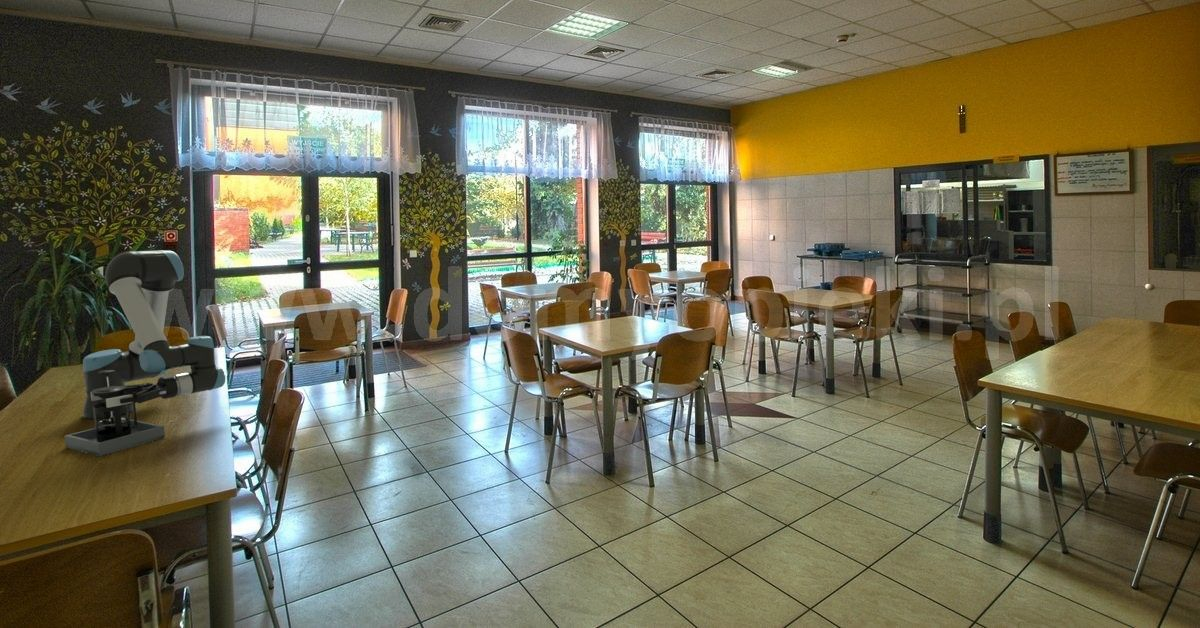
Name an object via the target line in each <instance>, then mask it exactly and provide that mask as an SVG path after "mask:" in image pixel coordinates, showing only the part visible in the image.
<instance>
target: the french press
mask: <svg viewBox="0 0 1200 628" xmlns="http://www.w3.org/2000/svg"><path fill="white" fill-rule="evenodd" d="M111 372H115V370H104V371H100V372H98V373H100V374H104V373H105V377H107V384H108V387H104V388H99V389H95V390H93V391H91V393H92V394H93V395H94V396H99V397H100V398H102V399H108V398H113V397H119V396H123V395H125V389H126V387H125V386H126V385H125V386H111V387H109V381H108V377H109V373H111ZM100 407H102V408H100ZM124 408H126V414H125V415H126V417H125V416H122V415H121V413H120V409H124ZM132 409H133V411H132V416H133V417H132V418H133V420H134V425H132V426H130V419H131V418H130V412H129V408H128V404H124V405H120V406H115V407H109V408H107V405H106V402H103V403H99V404H96V405H94V406H93V412H94V419H93V420H94V428H96V437H97V441H96V442H104V441H108V440H111V439H115V438H119V437H122V436H126V435H130V434H132V433H131V428H133V427H137V421H138V419H137V417H138V416H137V409H136V403H133V402H132ZM110 411H111V417H110V413H109V412H110ZM112 411H114V417H113V415H112ZM96 412H103V418H102V420H99V421H98V419H97V414H96ZM126 422H127V424H128V426H122V424H123V423H126ZM111 426H115V427H111ZM98 427H105V429H102V430H100V431H99V430H98Z"/></svg>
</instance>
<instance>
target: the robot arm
mask: <svg viewBox="0 0 1200 628" xmlns="http://www.w3.org/2000/svg"><path fill="white" fill-rule="evenodd" d="M184 276H185V269H184V264H183V262H182V260H181V258H180V256H179V255H178V254H177V253H176V252H175V251H172V250H162V249H159V250H138V251H137V250H136V251H134V250H133V251H131V250H129V251H124V252H121V253H118V254H117V255H116V256H114V257H113V258H112V259H111V260H110V262H108V264H107V266H106V269H105V275H104V277H105V278H104V279H105V284H106V287H107V290H109V292H110V293H111V294H113V295H115V297H116V298H117V300H118V303H119V305H120V307H121V308H122V311H123V313H124V314H125V316H126V319H127V320H128V322H129V324H130V326H131V328H132V331H133V332H134V334H135V336H134V340H133V341H132V342H130V343H129V346H128V350H126V351H122V350H121V349H119V348H114V349H113V348H112V349H106V350H99V351H97V352H93V353H89V354H88V355H86V356H84V358H83V359H82V372H83V377H84V385H85V392H86V393H85V394H86V397H85V401H84V405H83V408H82V418H84V419H89V420H91V419H92V420H94V412H93V406H94V405H96V404H99V403H103V402H106V405H107V408H109V407H115V406H120V405H124V404H128V408H129V413H131V412H133V409H132V402H133V403H135V404H136V403H137V404H142V403H145V402H148V401H151V400H155V399H157V398H161V399H165V400H168V399H171V398H176V397H180V396H183V397H187V395H191V394H195V393H201V392H206V391H212V390H216V389H219V388H222V387H223V386H225V383H226V375H225V371H224V369H223V368H221V367H219V366H218V367H217V366H216V358H215V345H214V341H213V338H212V336H209V335H197V336H196V335H195V336H192V337H189V338H187V343H186V344H184V343H183V344H180V345H179V344H178V345H173V346H172V345H171V344H170V342H169V340H168V339H167V337H166V334H165V333H164V327H165V323H166V322H165V320H166V316H167V308H168V300H169V294H170V292H171V291H173V290H174V289H175V284H176V282H180V281H182V280H183V278H184ZM184 367H190V370H191V371H188V372H182V373H177V374H173V375H167V376H166V375H165V374H167V372H168V371H169V370H172V369H177V368H184ZM104 370H115V372H111V373H109V377H108V381H109V387H111V386H125V387H126V389H125V395H123V396H119V397H113V398H108V399H102V398H100V397H99V396H94V395H93V394H92V393H91V391H93V390H95V389H99V388H104V387H108V384H107V377H105V373H104V374H100V373H98V372H100V371H104ZM163 375H165V376H163ZM157 377H159V378H158V379H157V382H156V383H155V384H154V383H151V382H146V383H137V384H129V385H128V384H127V385H126V383H130V382H135V381H140V380H145V379H155V378H157ZM100 408H102V407H100ZM109 413H110V418H111V411H110V412H109ZM120 413H121V416H122V415H126V408H124V409H120ZM96 414H97V420H98V419H104V418H103V412H96ZM112 415H113V417H114V411H112Z"/></svg>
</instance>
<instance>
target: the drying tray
mask: <svg viewBox="0 0 1200 628" xmlns="http://www.w3.org/2000/svg"><path fill="white" fill-rule="evenodd" d="M132 425H134V419H131V418H130V426H132ZM122 426H128V424H127V422H126V423H123V424H122ZM111 427H115V426H111ZM102 429H105V427H99V426H98V430H99V431H100V430H102ZM131 433H132V434H130V435H126V436H122V437H119V438H115V439H111V440H108V441H104V442H96V441H97V437H96V428H95V427H94V428H90V429H85V430H83V431H78V432H73V433H70V434H65V435H64V443H65V449H69V450H72V449H74V450H73V451H76V450H79V451H78V452H80V451H83V452H82V453H84V452H87V453H86V454H88V453H90V454H89V455H91V454H94V455H93V456H95V455H97V456H96V457H99V456H100V457H103V456H102V455H104V456H106V455H105V454H107V455H110V454H109V453H111V454H114V453H117V452H116V451H118V452H121V451H124V450H123V449H125V450H127V448H128V449H131V448H130V447H132V448H135V447H137V445H138V446H141V445H140V444H142V445H144V444H143V443H145V444H148V443H147V442H149V443H151V442H150V441H152V442H155V441H154V440H156V441H159V440H162V439H161V438H163V439H165V438H166V433H165V426H164V425H160V424H157V423H156V424H155V423H150V422H146V421H141V420H137V427H133V428H131ZM164 437H165V438H164ZM158 439H159V440H158ZM134 446H135V447H134ZM120 450H121V451H120ZM113 452H114V453H113Z"/></svg>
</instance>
